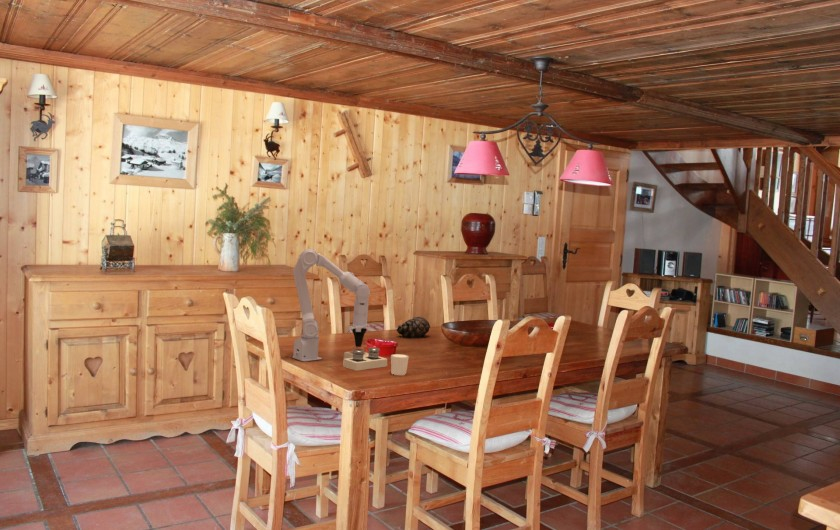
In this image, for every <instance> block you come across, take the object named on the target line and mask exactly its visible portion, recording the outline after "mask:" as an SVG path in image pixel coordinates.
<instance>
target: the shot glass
mask: <svg viewBox="0 0 840 530" xmlns="http://www.w3.org/2000/svg"><path fill="white" fill-rule="evenodd" d="M408 364H409V355H408V354H402V353H395V354H391V355H390V367H391V368H390V371H391V375H393V374H394V376H405V374H407V371H408V370H407V369H408Z"/></svg>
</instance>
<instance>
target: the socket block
mask: <svg viewBox="0 0 840 530" xmlns="http://www.w3.org/2000/svg"><path fill="white" fill-rule="evenodd" d="M368 355H369V352H365V351H364V354H363V361H361V362H355V361H353V350H352V351H344V352H343V361H342V367H343V368H347V369H349V370H352V371H355V372H357V371H363V370H364V371H365V370H372V369H378V368H385V367H388V358H385V357H382V356H378V359H376V360H371V359H368Z"/></svg>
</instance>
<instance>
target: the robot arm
mask: <svg viewBox="0 0 840 530" xmlns="http://www.w3.org/2000/svg"><path fill="white" fill-rule="evenodd" d="M314 265H316V266H317V267H323V268H325V269H326V270H327V271H328V272H330V273H331V274H333V275H335V276H336V277H337V278H338V281H339V283H340V285H342V286H343V287H345V288H346V289H348V291H350V292H351V293H354V294H355V295H354V296H355V297H354V298H355V299H354V302H353V317H352V318H353V319H352V327H353V328H352V333H353V336H354V343H355V344H354V345H356V347H361V346H363V345H362V344H363V341H364V337H365V334H366V332H367V331H368V328H369V327H370V326H371V324H369V323H368V317H369V316H368V315H369V304H370V303H369V300H370V298H369V297H370V295H371V291H370V288H369V286H368V285H367V284H366V283H364V281H363V280H360V279H359V278H358V277H356V276H355V273H353V272H350V271H343V270H342V269H341V268H339V267H338V266H337V265H336V264H335V263H333V262H332V261H331V260H330V259H329V258H327V257H326V256H325V255H323V254H321V253H319V252H317V251H316V250H314V249H313V248H307V249H304V250H303V251H302V252H301V253H300V255H299V256H298V259H297V261H296V263H295V265H294V268H293V269H292V274H293V278H294V283H295V288H296V293H297V297H298V301H299V302H298V303H299V308H300V312H301V317H302V333H301V334H300V337H298V338H295V339H294V342H293V355H292V357H291V358H293V359H295V360H298V361H301V362H310V361H317V360H319V361H320V360H323V358H322V357H319V356H318V355H319V342H320V335H319V329H320V328H319V322H318V321H317V320H316V319H315V314H314V310H313V307H312V301H311V297H310V291H309V288H308V287H309V286H308V283H307V277H306V274H307V272H308V271H309V269H310V268H312V267H313V266H314Z"/></svg>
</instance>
